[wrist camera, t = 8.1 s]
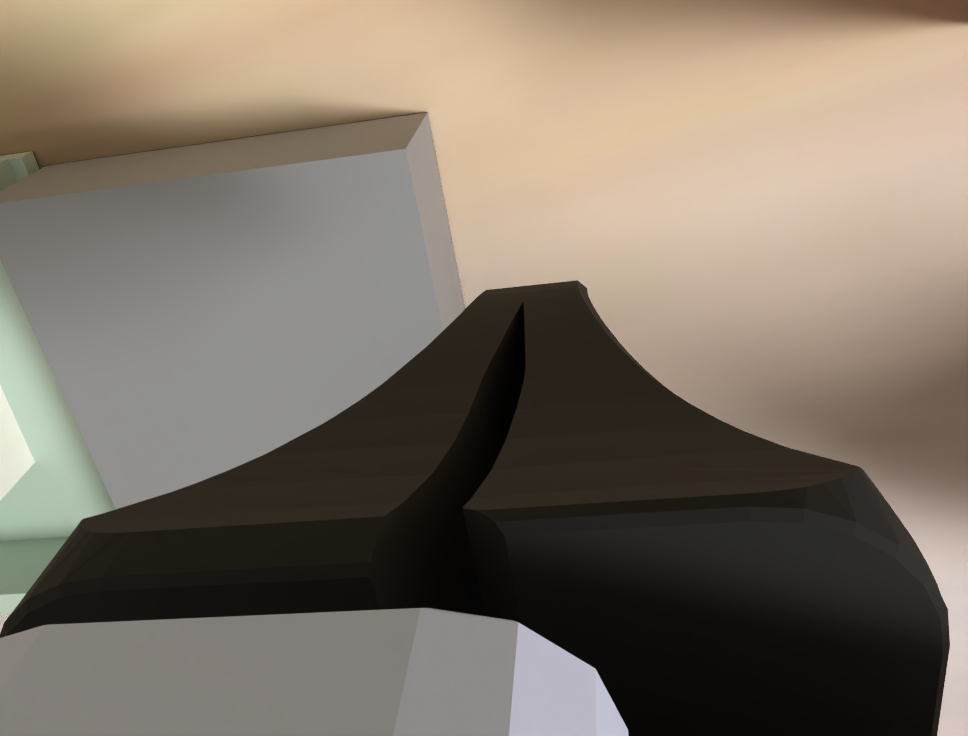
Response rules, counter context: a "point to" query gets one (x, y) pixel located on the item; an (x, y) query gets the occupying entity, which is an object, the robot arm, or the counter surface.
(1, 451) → the tile
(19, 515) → the bin
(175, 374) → the bench plate
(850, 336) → the counter surface
